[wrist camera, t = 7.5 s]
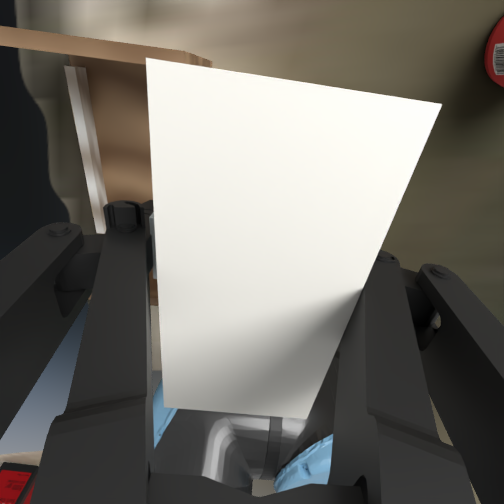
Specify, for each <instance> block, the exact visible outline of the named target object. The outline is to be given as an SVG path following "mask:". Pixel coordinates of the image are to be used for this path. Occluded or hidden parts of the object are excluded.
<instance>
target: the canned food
mask: <svg viewBox="0 0 504 504" xmlns="http://www.w3.org/2000/svg"><path fill="white" fill-rule="evenodd" d="M485 68H486V71H487V73H488V75H489V77H490V78H491V79H492V80H493V81H494V82H496V83H497V84H499V85H500V86H502V87H504V16H503V17H502V18H501V19H500V20H499V22H498V23H497V25H496V26H495V28H494V29H493V31H492V33H491V35H490V37H489V40H488V43H487V46H486V50H485Z"/></svg>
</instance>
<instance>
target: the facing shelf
mask: <svg viewBox="0 0 504 504" xmlns="http://www.w3.org/2000/svg"><path fill="white" fill-rule="evenodd" d="M0 45H4V46H10V47H18V48H25V49H33V50H40V51H48V52H55V53H63V54H68V56H69V61H70V66H64V68H65V73H66V79H67V84H68V90H69V95H70V101H71V106H72V111H73V116H74V121H75V126H76V131H77V135H78V140H79V145H80V150H81V155H82V160H83V166H84V171H85V176H86V181H87V186H88V192H89V197H90V203H91V208H92V213H93V218H94V222H95V227H96V232H97V233H100V234H105V232H106V224H105V217H104V211H103V207H104V206H105V205H106V204H108V203H110V202H114V201H120V200H129V201H135V202H139V203H141V204H142V203H144V202H146V201H149V200H153V187H152V168H151V148H150V129H149V110H148V91H147V72H146V58H151V59H157V60H164V61H170V62H176V63H183V64H189V65H196V66H202V67H208V68H212V61H209V60H207V59H204V58H201V57H199V56H196V55H193V54H191V53H188V52H185V51H179V50H172V49H165V48H157V47H150V46H143V45H136V44H128V43H121V42H114V41H106V40H99V39H92V38H84V37H77V36H70V35H63V34H55V33H48V32H41V31H33V30H26V29H19V28H11V27H4V26H0ZM149 280H150V305H154V306H159V302H158V283H157V279H153V268H152V270H151V272H150V273H149ZM91 295H92V294H91ZM91 295H90V297H89V299H88V300H91Z"/></svg>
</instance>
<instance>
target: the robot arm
mask: <svg viewBox="0 0 504 504" xmlns="http://www.w3.org/2000/svg"><path fill="white" fill-rule="evenodd" d="M103 211H104V217H105V224H106V232H105V234H99V235H83V234H82V229H81V227H80V226H78V225H76V224H72V223H63V222H59V223H53V224H51V225H47V226H44V227H43V228H41V229H39V230H38V231H37V232H35V233H34V234H33V235H31V236H30V237H29V238H28V239H27V240H25V241H24V242H23V243H22V244H20V245H19V246H18V247H17V248H16V249H14V250H13V251H12V252H11V253H9V254H8V255H7V256H6V257H5V258H3V259H2V260H1V261H0V439H1V438H2V436H3V435H4V433H5V431H6V430H7V428H8V427H9V425H10V423H11V422H12V420H13V419H14V417H15V415H16V414H17V412H18V411H19V409H20V407H21V406H22V404H23V403H24V401H25V399H26V398H27V396H28V395H29V393H30V391H31V390H32V388H33V387H34V385H35V383H36V382H37V380H38V378H39V377H40V375H41V373H42V372H43V371H44V369H45V367H46V365H47V364H48V362H49V361H50V359H51V358H52V356H53V354H54V353H55V351H56V350H57V348H58V346H59V345H60V343H61V342H62V340H63V338H64V337H65V335H66V334H67V332H68V330H69V329H70V327H71V326H72V324H73V323H74V321H75V319H76V318H77V316H78V315H79V313H80V311H81V310H82V308H83V307H84V305H85V303H86V302H87V300H88V299H89V297H90V295H91V294H92V295H91V300H90V304H89V308H88V313H87V318H86V322H85V327H84V331H83V335H82V340H81V344H80V349H79V353H78V358H77V362H76V367H75V371H74V376H73V380H72V385H71V389H70V393H69V398H68V402H67V406H66V409H65V411H64V413H63V414H62V415H59V416H56V417H55V419H54V420H53V422H52V423H51V426H50V429H49V432H48V435H47V438H46V442H45V446H44V449H43V453H42V457H41V461H40V465H39V469H38V473H37V477H36V480H35V484H34V488H33V492H32V496H31V500H30V504H476V502H475V498H474V494H473V491H472V487H471V484H470V482H471V483H472V486H473V488H474V490H475V492H476V494H477V496H478V498H479V501H480V503H481V504H504V326H503V325H502V324H501V323H500V322H499V320H498V319H497V318H496V317H495V316H494V315H493V314H492V313H491V312H490V311H489V310H488V308H487V307H486V306H485V305H484V304H483V303H482V302H481V301H480V300H479V299H478V297H477V296H476V295H475V294H474V293H473V292H472V291H471V290H470V289H469V288H468V286H467V285H466V284H465V283H464V282H463V281H462V280H461V279H460V278H459V277H458V276H457V275H456V274H455V273H454V272H452V271H450V270H449V269H448V268H446V267H443V266H441V265H435V264H424V265H422V267H421V269H420V271H419V272H418V273H417V272H414V271H410V270H407V269H403V268H401V267H400V263H399V261H398V259H397V258H396V257H395V256H393V255H392V254H390V253H388V252H385V251H382V250H379V252H378V255H377V257H376V259H375V262H374V264H373V266H372V268H371V271H370V273H369V275H368V278H367V280H366V282H365V285H364V287H363V289H362V292H361V294H360V296H359V299H358V301H357V303H356V306H355V308H354V310H353V313H352V315H351V317H350V320H349V322H348V324H347V327H346V329H345V331H344V333H343V336H342V338H341V340H340V343H339V345H338V347H337V350H336V352H335V354H334V357H333V359H332V361H331V364H330V366H329V368H328V371H327V373H326V375H325V378H324V380H323V382H322V385H321V387H320V389H319V392H318V394H317V396H316V398H315V401H314V403H313V405H312V408H311V410H310V412H309V415H308V417H307V419H299V418H287V417H275V416H263V415H251V414H239V413H227V412H215V411H203V410H191V409H179V408H167V407H164V398H163V379H161V381H160V383H159V385H158V387H157V389H156V391H155V394H154V396H153V389H152V388H153V387H152V349H151V312H150V280H149V273H150V272H151V270H152V268H153V279H157V264H156V244H155V225H154V206H153V200H149V201H146V202H144V203H142V204H141V203H139V202H135V201H129V200H120V201H114V202H110V203H108V204H106V205H105V206H104V207H103ZM439 315H440V317H441V326H440V327H439V328H438V327H437V326H436V324H435V321H436V320H437V318H438V317H439ZM429 395H430V397H431V399H432V401H433V403H434V405H435V408H436V410H437V412H438V414H439V416H440V418H441V420H442V422H443V424H444V427H445V429H446V431H447V433H448V435H449V437H450V439H451V441H452V443H453V446H451V445H448V444H446V443H443V442H442V441H441V440H440V438H439V435H438V432H437V428H436V423H435V419H434V415H433V410H432V406H431V401H430V397H429ZM253 479H263V480H273V481H274V490H275V491H276V493H274V494H271V495H267V496H263V497H255V496H252V482H253ZM469 479H470V480H469Z"/></svg>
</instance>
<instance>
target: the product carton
mask: <svg viewBox="0 0 504 504" xmlns="http://www.w3.org/2000/svg"><path fill="white" fill-rule="evenodd" d="M146 72H147V91H148V110H149V129H150V148H151V168H152V187H153V206H154V225H155V244H156V264H157V283H158V302H159V321H160V340H161V359H162V379H163V398H164V407H167V408H179V409H191V410H203V411H215V412H227V413H239V414H251V415H263V416H275V417H287V418H299V419H307V417H308V415H309V412H310V410H311V408H312V405H313V403H314V401H315V398H316V396H317V394H318V392H319V389H320V387H321V385H322V382H323V380H324V378H325V375H326V373H327V371H328V368H329V366H330V364H331V361H332V359H333V357H334V354H335V352H336V350H337V347H338V345H339V343H340V340H341V338H342V336H343V333H344V331H345V329H346V327H347V324H348V322H349V320H350V317H351V315H352V313H353V310H354V308H355V306H356V303H357V301H358V299H359V296H360V294H361V292H362V289H363V287H364V285H365V282H366V280H367V278H368V275H369V273H370V271H371V268H372V266H373V264H374V262H375V259H376V257H377V255H378V252H379V250H380V248H381V245H382V243H383V241H384V238H385V236H386V234H387V231H388V229H389V227H390V224H391V222H392V220H393V217H394V215H395V213H396V210H397V208H398V206H399V203H400V201H401V199H402V196H403V194H404V192H405V190H406V187H407V185H408V183H409V180H410V178H411V176H412V173H413V171H414V169H415V166H416V164H417V162H418V159H419V157H420V155H421V152H422V150H423V148H424V145H425V143H426V141H427V138H428V136H429V134H430V131H431V129H432V127H433V125H434V122H435V120H436V118H437V115H438V113H439V111H440V108H441V106H442V104H438V103H431V102H425V101H419V100H412V99H406V98H399V97H393V96H387V95H380V94H374V93H368V92H361V91H355V90H348V89H342V88H336V87H329V86H323V85H317V84H310V83H304V82H297V81H291V80H285V79H278V78H272V77H266V76H259V75H253V74H247V73H240V72H234V71H227V70H221V69H215V68H208V67H202V66H196V65H189V64H183V63H176V62H170V61H164V60H157V59H151V58H146Z"/></svg>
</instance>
